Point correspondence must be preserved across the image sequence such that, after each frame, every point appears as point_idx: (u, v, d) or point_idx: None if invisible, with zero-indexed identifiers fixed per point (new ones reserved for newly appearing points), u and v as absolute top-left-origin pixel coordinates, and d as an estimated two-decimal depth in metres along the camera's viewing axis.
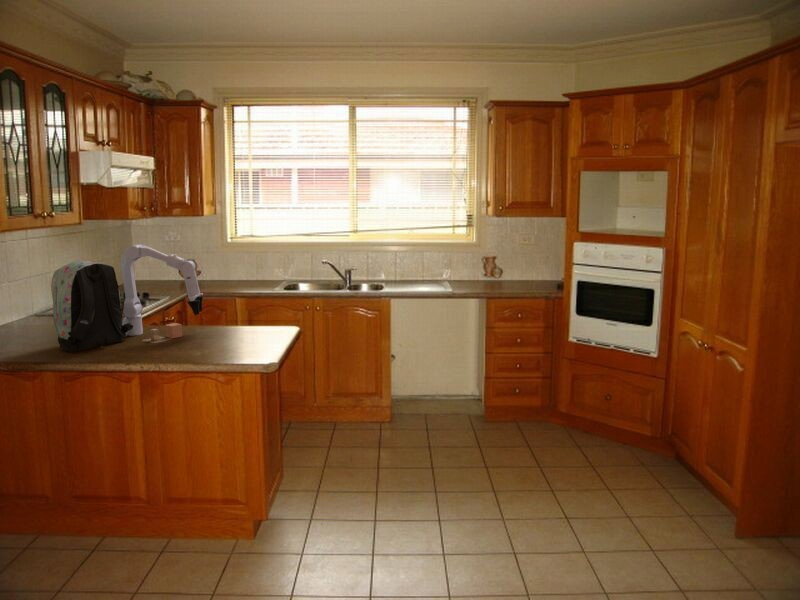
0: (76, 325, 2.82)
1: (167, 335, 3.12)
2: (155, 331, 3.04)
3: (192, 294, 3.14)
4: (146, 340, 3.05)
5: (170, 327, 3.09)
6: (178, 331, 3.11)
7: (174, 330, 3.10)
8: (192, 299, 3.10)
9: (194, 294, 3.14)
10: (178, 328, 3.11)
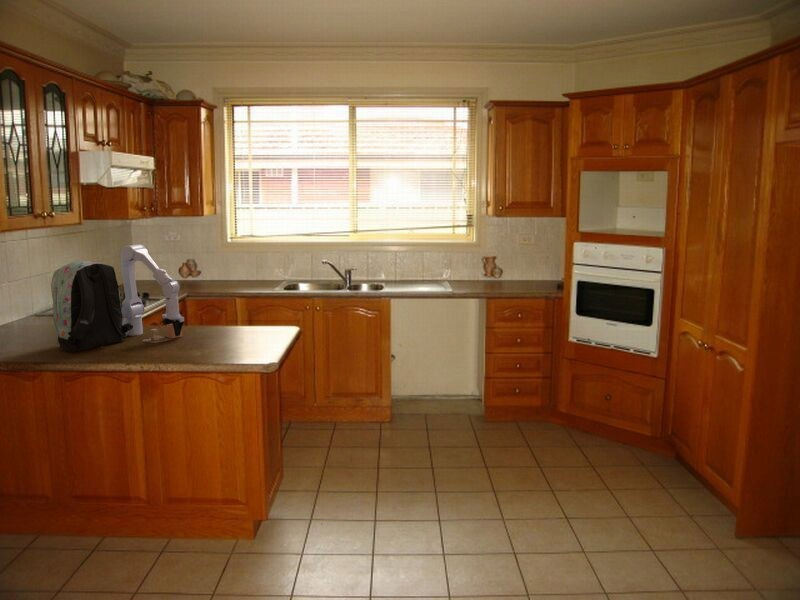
0: (76, 325, 2.82)
1: (167, 335, 3.12)
2: (155, 331, 3.04)
3: (176, 315, 3.09)
4: (146, 340, 3.05)
5: (170, 327, 3.09)
6: None
7: None
8: (182, 320, 3.07)
9: (177, 315, 3.10)
10: None
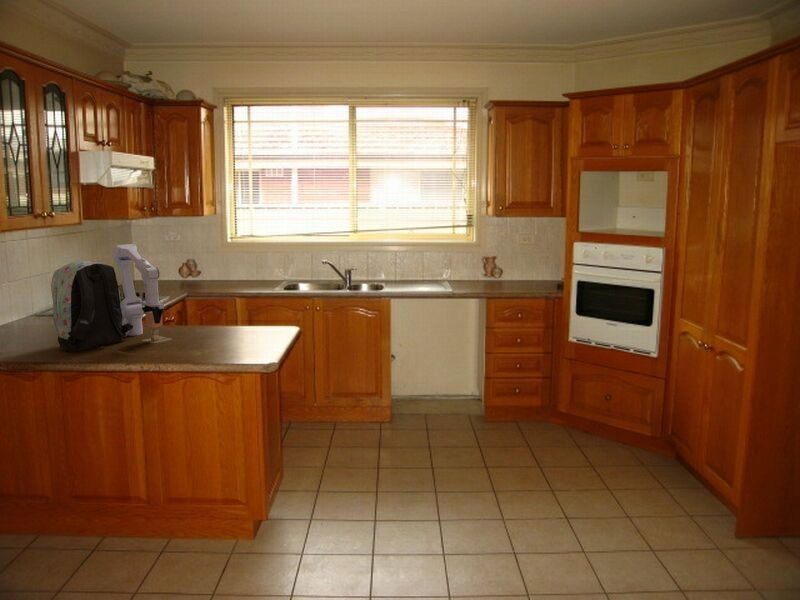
0: (76, 325, 2.82)
1: (147, 323, 3.03)
2: (155, 331, 3.04)
3: (155, 302, 3.01)
4: (146, 340, 3.05)
5: (150, 314, 3.01)
6: None
7: None
8: (162, 307, 2.99)
9: (157, 302, 3.02)
10: None
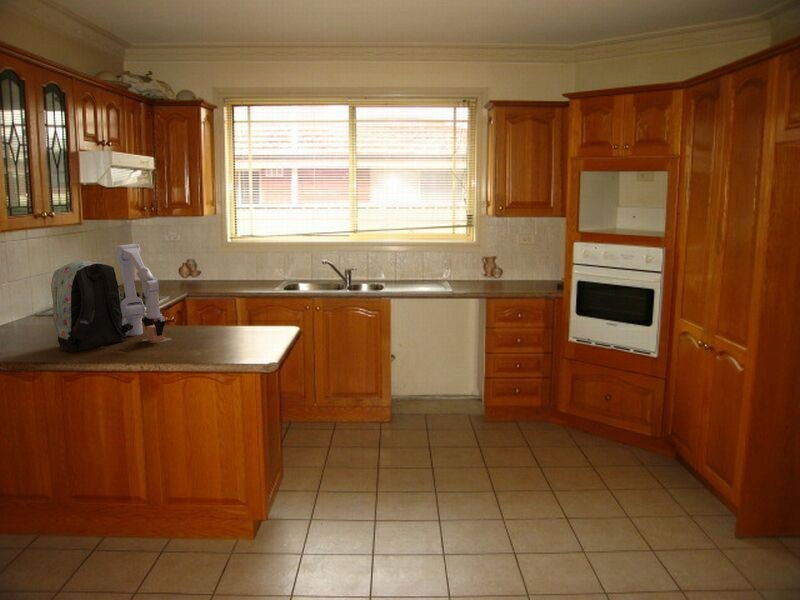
0: (76, 325, 2.82)
1: (148, 337, 3.05)
2: None
3: (156, 314, 3.02)
4: (146, 340, 3.05)
5: (151, 329, 3.02)
6: None
7: (155, 332, 3.03)
8: (163, 319, 3.00)
9: (158, 314, 3.03)
10: None
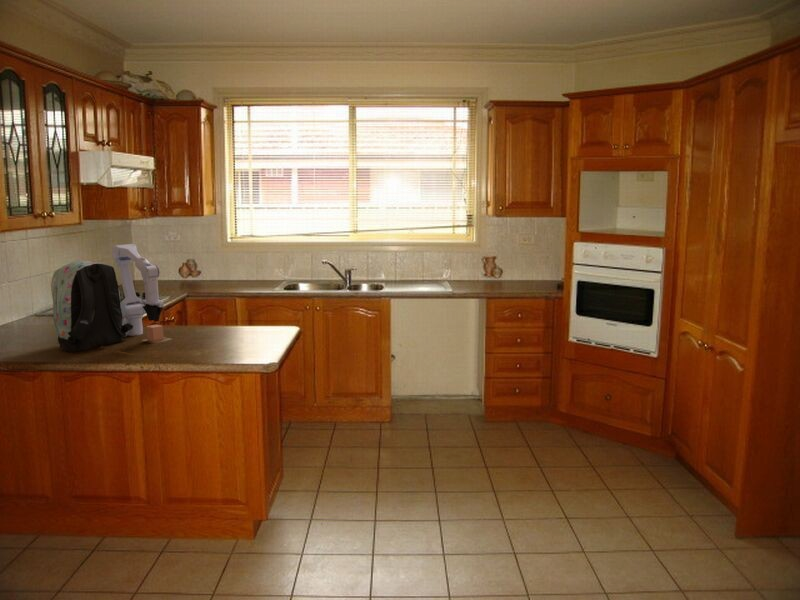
0: (76, 325, 2.82)
1: (148, 337, 3.05)
2: None
3: (155, 300, 3.01)
4: (146, 340, 3.05)
5: (151, 329, 3.02)
6: (159, 333, 3.04)
7: (155, 332, 3.03)
8: (162, 305, 2.99)
9: (157, 300, 3.02)
10: (159, 330, 3.04)
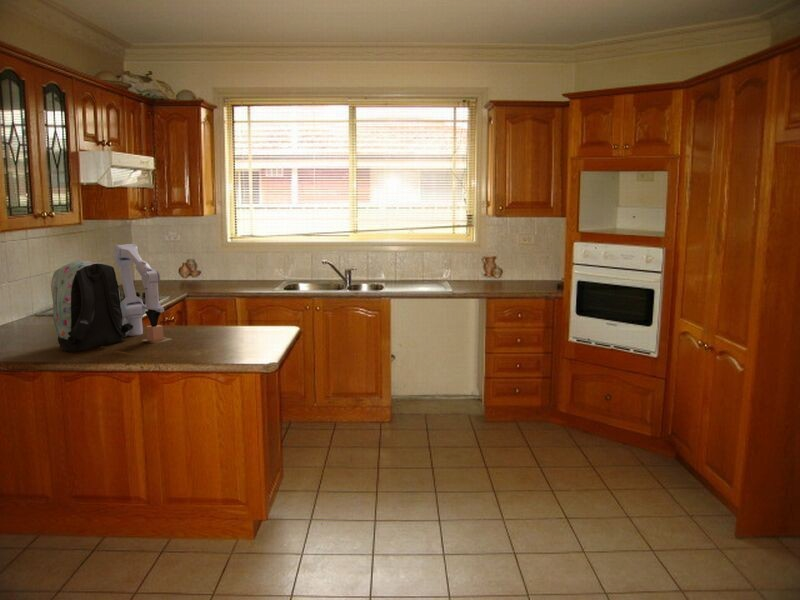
0: (76, 325, 2.82)
1: (148, 337, 3.05)
2: None
3: (155, 305, 3.01)
4: (146, 340, 3.05)
5: (151, 329, 3.02)
6: (159, 333, 3.04)
7: (155, 332, 3.03)
8: (162, 310, 2.99)
9: (157, 305, 3.02)
10: (159, 330, 3.04)
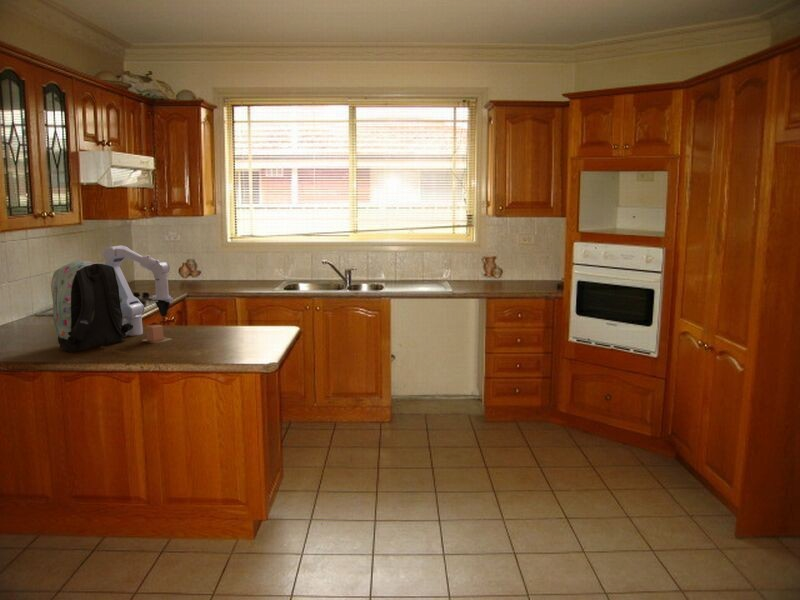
0: (76, 325, 2.82)
1: (148, 337, 3.05)
2: None
3: (165, 296, 3.09)
4: (146, 340, 3.05)
5: (151, 329, 3.02)
6: (159, 333, 3.04)
7: (155, 332, 3.03)
8: (172, 300, 3.07)
9: (167, 296, 3.10)
10: (159, 330, 3.04)
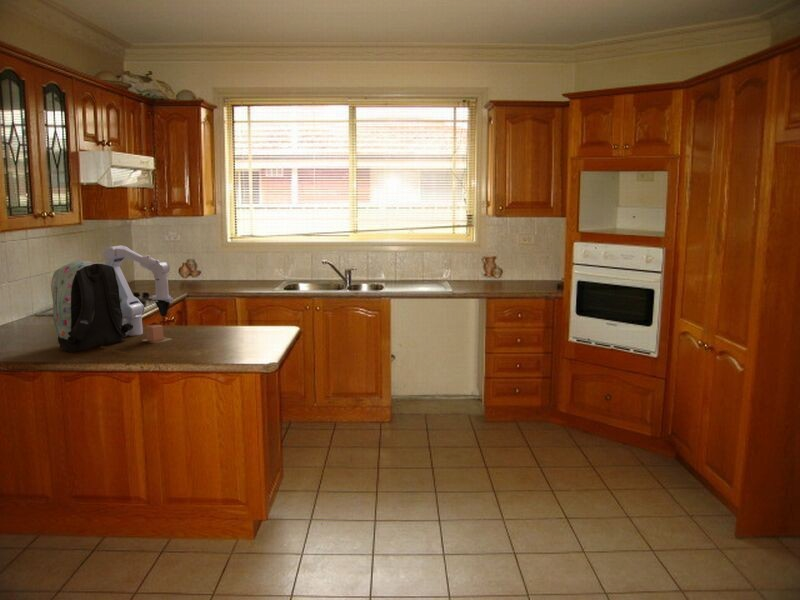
0: (76, 325, 2.82)
1: (148, 337, 3.05)
2: None
3: (165, 296, 3.09)
4: (146, 340, 3.05)
5: (151, 329, 3.02)
6: (159, 333, 3.04)
7: (155, 332, 3.03)
8: (172, 300, 3.07)
9: (167, 296, 3.10)
10: (159, 330, 3.04)
